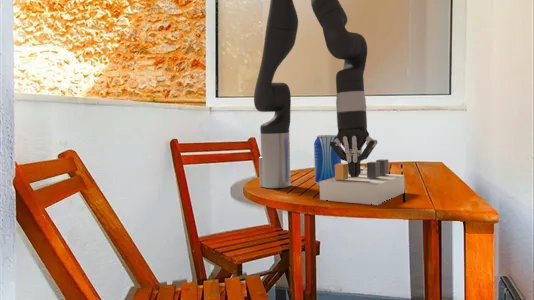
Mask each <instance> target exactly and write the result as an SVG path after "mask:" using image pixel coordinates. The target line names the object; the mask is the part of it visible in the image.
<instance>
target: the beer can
mask: <svg viewBox="0 0 534 300" xmlns="http://www.w3.org/2000/svg"><path fill="white" fill-rule="evenodd" d="M336 138H337V134H319V135H316V139H315V140H314V141H313V149H314V153H313V156H314V157H313V158H314V159H313V160H314V182H315V183H316V184H317V186H318V187H320V181H323V180H326V179H330V178H333V177H335V164H339V163H342V160H341V159H340V157H339V156H338V155H337V154H336V152H335V151H334V150H333V148H332V147H331V146H330V142H333V141H334V140H335V139H336Z"/></svg>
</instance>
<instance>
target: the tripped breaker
mask: <svg viewBox="0 0 534 300" xmlns="http://www.w3.org/2000/svg"><path fill="white" fill-rule="evenodd" d="M345 179H348V163H342V162H341V163H339V164H335V180H345Z"/></svg>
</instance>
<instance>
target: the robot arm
mask: <svg viewBox="0 0 534 300" xmlns="http://www.w3.org/2000/svg"><path fill="white" fill-rule="evenodd" d="M310 4H311V9H312V11H313V14H314V16H315V17H316V20H317V22H318V23H319V25H320V26H321V28H322V31H323V32H322V33H323V37H324V42H325V46H326V48H327V51H328V52H329V54H331V56H333V57H334V59H337V60H343V61H344V62H343V69H340V70H338V71H337V72H336V76H335V83H336V84H335V90H336V99H335V100H336V101H335V103H336V122H337V134H336V135H337V138H336V139H335V140H334V141H333V142H330V146H331V147H332V148H333V150H334V151H335V152H336V154H337V155H338V156H339V157H340V159H341V161H344V162H347V164H348V173H349V175H350V176H351V177H358V176H359V174H360V173H362V172H361V171H362V170H361V162H362V161H364V160H367V159H368V158H369V156H370V155H371V154H372V152H373V150H374V149H375V147H376V145H377V144H378V140H377V139H374V138H372V137H371V136H370V133H369V131H368V119H367V101H366V95H365V85H364V83H365V82H364V81H365V79H364V72H365V70H366V69H365V68H366V63H367V59H368V58H367V56H368V45H367V44H368V43H367V41H366V38H365V37H364V36H363V35H362V34H360V33H358V32H354V31H353V32H351V31H348V30H347V28H346V25H347V24H348V16H347V14H346V12H345V10H344V8H343V6H342V5H341V2H340V1H339V0H310ZM268 10H269V11H268V15H267V21H266V26H265V27H266V28H265V33H264V41H263V42H264V43H263V49H262V56H261V62H260V66H259V70H258V74H257V79H256V84H255V88H254V94H253V95H254V96H253V103H254V104H253V105H254V108H255V109H256V110H257V111H258V112H262V113H265V112H267V113H273V112H274V115H273V117H272V118H271V119H270V120H268V121H265V123H262V124H261V125H260V127H259V131H260V155H261V156H259V157H258V172H259V173H258V176H259V177H258V178H259V187H262V188H265V189H266V188H267V189H280V188H281V189H282V188H283V189H285V188H289V187H291V185H292V184H291V181H292V180H291V148H290V146H291V145H290V143H291V142H290V126H291V107H292V106H291V105H292V103H291V102H292V101H291V99H292V98H291V90H290V87H289V85H288V84H287V83H285V82H273V80H274V77H275V74H276V71H277V69H278V68H279V66H281V64H282V63H283V62H284V60H285V59H286V58H287V56H289V54H290V53H291V51H292V49H293V48H294V46H295V44H296V39H297V34H298V27H299V19H298V14H297V9H296V7H295V4H294V1H293V0H270V3H269V9H268ZM364 145H366V146H365V148H364V149H363V147H364Z"/></svg>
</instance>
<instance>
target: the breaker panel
mask: <svg viewBox="0 0 534 300" xmlns="http://www.w3.org/2000/svg"><path fill="white" fill-rule="evenodd" d="M404 193H405V174H395V173H394V174H391V173H390V174H386V175H380V177H377V178H367V172H361V173H360V174H359V176H358V177H351V176H350V175H349V173H348V179H345V180H335V177H333V178H330V179H326V180H323V181H320V186H319V201H326V200H328V202H339V203H347V204H348V203H353V204H361V205H371V204H372V206H379V205H381V204H383V203H385V202H387V201H386V200H388V201H390V200H392V199H395V198H397V197H398V196H400V195H402V194H404ZM391 198H392V199H391ZM389 199H390V200H389ZM384 201H385V202H384ZM382 202H383V203H382Z"/></svg>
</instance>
